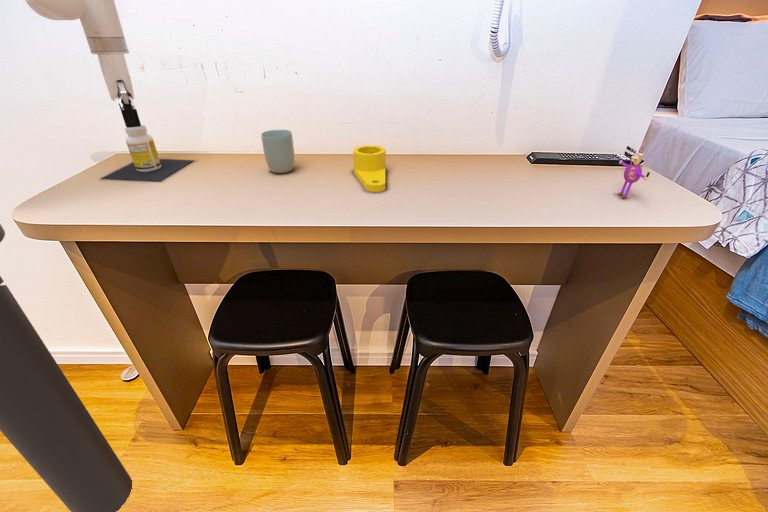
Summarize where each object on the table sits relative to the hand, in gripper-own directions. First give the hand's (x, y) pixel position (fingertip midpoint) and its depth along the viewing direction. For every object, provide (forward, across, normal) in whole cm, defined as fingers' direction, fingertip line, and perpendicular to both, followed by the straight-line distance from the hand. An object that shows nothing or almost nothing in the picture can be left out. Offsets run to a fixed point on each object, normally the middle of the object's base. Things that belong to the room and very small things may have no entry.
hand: (132, 122), depth 98 cm
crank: (+12, +38, +48) cm, 62 cm away
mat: (+12, 0, +1) cm, 12 cm away
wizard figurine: (+11, +80, +92) cm, 122 cm away
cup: (+12, +20, +31) cm, 39 cm away
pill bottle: (+12, 0, +1) cm, 12 cm away
